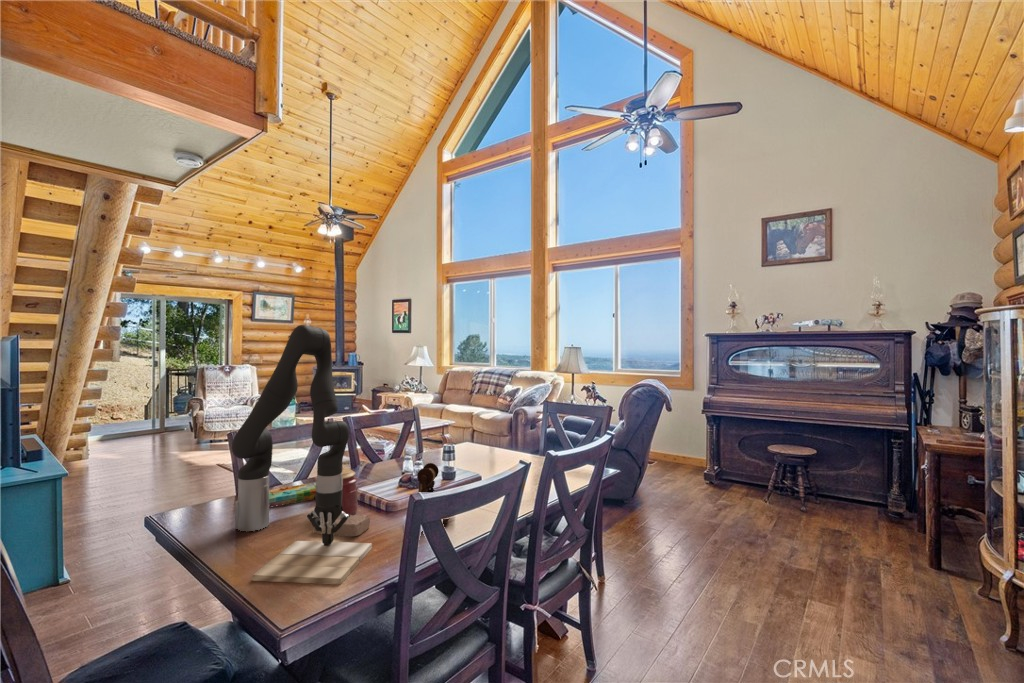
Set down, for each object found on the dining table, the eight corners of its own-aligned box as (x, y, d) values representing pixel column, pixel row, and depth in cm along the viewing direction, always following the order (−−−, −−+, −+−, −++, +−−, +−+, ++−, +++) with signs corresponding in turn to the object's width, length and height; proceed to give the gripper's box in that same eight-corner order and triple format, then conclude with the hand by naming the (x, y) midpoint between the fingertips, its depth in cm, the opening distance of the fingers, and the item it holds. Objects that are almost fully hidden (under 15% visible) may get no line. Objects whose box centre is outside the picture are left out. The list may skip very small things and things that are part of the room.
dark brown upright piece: (413, 514, 170) (413, 459, 170) (453, 516, 169) (453, 460, 169) (400, 531, 156) (400, 470, 156) (443, 532, 154) (443, 472, 154)
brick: (311, 534, 154) (311, 520, 154) (327, 524, 162) (327, 510, 162) (357, 539, 150) (357, 524, 150) (370, 528, 159) (370, 514, 158)
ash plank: (279, 558, 136) (279, 553, 136) (296, 545, 145) (296, 540, 145) (359, 562, 134) (359, 556, 134) (371, 548, 143) (371, 543, 143)
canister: (362, 514, 170) (362, 466, 170) (324, 522, 163) (324, 471, 163) (352, 504, 181) (352, 458, 181) (316, 511, 174) (316, 463, 174)
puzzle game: (262, 489, 186) (315, 480, 198) (262, 501, 186) (315, 491, 198) (268, 497, 176) (323, 487, 188) (268, 509, 176) (323, 498, 188)
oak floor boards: (252, 580, 123) (252, 574, 123) (278, 559, 135) (278, 554, 135) (340, 584, 121) (340, 578, 121) (359, 562, 133) (359, 557, 133)
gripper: (301, 490, 138) (300, 548, 138) (345, 493, 137) (343, 552, 137) (314, 482, 145) (312, 537, 146) (355, 485, 144) (354, 540, 145)
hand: (327, 544), depth 142 cm, fingers closed
